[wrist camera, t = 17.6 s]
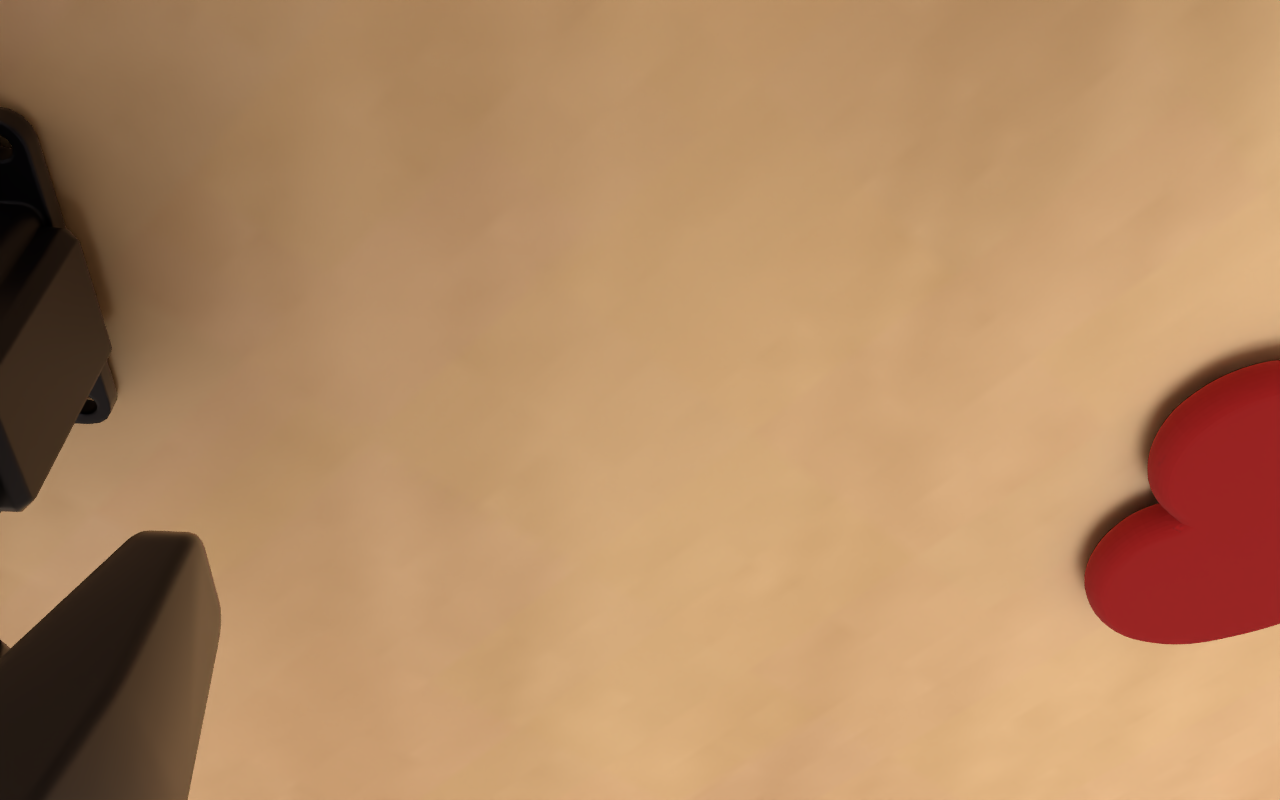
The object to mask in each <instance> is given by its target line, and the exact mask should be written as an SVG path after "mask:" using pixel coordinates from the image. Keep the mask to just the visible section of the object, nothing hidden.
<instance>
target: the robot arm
mask: <svg viewBox="0 0 1280 800" xmlns="http://www.w3.org/2000/svg"><path fill="white" fill-rule="evenodd" d="M0 135H2V136H3V137H4V138H6V139H7V140H8V141H9V143H10V144H11V146H12V147H13V148H11V149H10V148H6V147H2V146H0V512H1V511H11V512H21V511H23V510H24V509H25V508H26V507H27V506H28V505H29V504H30V503H31V502H32V501H33V500H34V499H35V498H36V496H37V494H38V493H39V491H40V489H41V487H42V485H43V483H44V481H45V479H46V477H47V475H48V473H49V471H50V469H51V467H52V465H53V464H54V462H55V460H56V458H57V456H58V454H59V452H60V450H61V448H62V446H63V444H64V442H65V440H66V438H67V437H68V435H69V433H70V431H71V429H72V427H73V425H74V423H80V424H93V423H100V422H102V421H104V420H105V419H107V418H108V416H109V414H110V413H111V411H112V409H113V406H114V404H115V402H116V400H117V391H116V387H115V384H114V381H113V378H112V375H111V371H110V368H109V365H108V362H107V359H108V357H109V355H110V353H111V350H112V347H111V343H110V340H109V336H108V333H107V330H106V326H105V323H104V320H103V317H102V313H101V310H100V307H99V303H98V300H97V297H96V294H95V290H94V287H93V284H92V281H91V277H90V274H89V271H88V267H87V264H86V261H85V258H84V254H83V251H82V248H81V244H80V242H79V240H78V239H77V238H76V237H75V236H74V235H73V234H72V232H71V231H70V230H69V229H67V228H66V227H65V223H64V220H63V217H62V214H61V211H60V207H59V204H58V201H57V198H56V195H55V191H54V188H53V185H52V182H51V179H50V175H49V172H48V169H47V166H46V162H45V159H44V156H43V153H42V150H41V146H40V143H39V140H38V137H37V134H36V133H35V131H34V129H33V127H32V125H31V124H30V123H29V122H28V121H27V120H26V119H25V118H24V117H23V116H22V115H20V114H18V113H16V112H14V111H12V110H10V109H7V108H3V107H0ZM88 397H90V398H92V399H93V400H94V401H92V400H88V399H87V398H88ZM220 628H221V609H220V603H219V599H218V595H217V592H216V588H215V584H214V580H213V577H212V573H211V569H210V566H209V562H208V558H207V554H206V551H205V547H204V545H203V542H202V540H201V539H200V538H199V537H198V536H197V535H196V534H193V533H189V532H170V531H143V532H140V533H138V534H136V535H134V536H132V537H131V538H129V539H128V540H127V541H126V542H125V543H124V544H123V545H122V546H121V547H119V548H118V549H117V550H116V551H115V552H114V553H113V554H112V555H111V556H110V557H109V558H108V559H107V560H105V561H104V562H103V563H102V564H101V565H100V566H99V567H98V568H97V569H96V570H95V571H94V572H93V573H91V574H90V575H89V576H88V577H87V578H86V579H85V580H84V581H83V582H82V583H81V584H80V585H79V586H77V587H76V588H75V589H74V590H73V591H72V592H71V593H70V594H69V595H68V596H67V597H66V598H65V599H63V600H62V601H61V602H60V603H59V604H58V605H57V606H56V607H55V608H54V609H53V610H52V611H51V612H49V613H48V614H47V615H46V616H45V617H44V618H43V619H42V620H41V621H40V622H39V623H38V624H37V625H35V626H34V627H33V628H32V629H31V630H30V631H29V632H28V633H27V634H26V635H25V636H24V637H23V638H21V639H20V640H19V641H18V642H17V643H16V644H15V645H14V646H13V647H12V648H9V647H8V646H7V645H6V644H5V643H4V642H2V641H1V640H0V800H188V795H189V789H190V784H191V779H192V774H193V769H194V764H195V759H196V754H197V749H198V744H199V739H200V734H201V729H202V724H203V718H204V713H205V708H206V703H207V698H208V693H209V688H210V683H211V678H212V673H213V668H214V663H215V658H216V652H217V647H218V642H219V637H220Z"/></svg>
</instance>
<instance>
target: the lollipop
mask: <svg viewBox="0 0 1280 800" xmlns="http://www.w3.org/2000/svg"><path fill="white" fill-rule="evenodd" d="M1148 480H1149V484H1150V488H1151V491H1152V492H1153V494H1154V496H1155V498H1156V499H1157V501H1158V502H1159V503H1157V504H1154V505H1152V506H1149V507H1146V508H1144V509H1142V510H1139V511H1137V512H1135V513H1133V514H1131V515H1130V516H1128V517H1127V518H1125V519H1124V520H1122V521H1121V522H1120V523H1118V524H1117V525H1116V526H1115V527H1113V528H1112V529H1111V530H1110V531H1109V532H1108V533H1107V534H1106V535H1105V536H1104V537H1103V538H1102V539H1101V541H1100V542H1099V543H1098V545H1097V546H1096V548H1095V549H1094V551H1093V553H1092V554H1091V556H1090V559H1089V561H1088V563H1087V567H1086V571H1085V590H1086V595H1087V598H1088V601H1089V603H1090V605H1091V607H1092V609H1093V611H1094V612H1095V614H1096V615H1097V616H1098V617H1099V618H1100V620H1101V621H1102V622H1104V623H1105V624H1106V625H1107V626H1108V627H1110V628H1111V629H1113V630H1114V631H1116V632H1118V633H1120V634H1122V635H1124V636H1126V637H1129V638H1132V639H1136V640H1140V641H1145V642H1152V643H1160V644H1192V643H1200V642H1207V641H1212V640H1218V639H1223V638H1227V637H1232V636H1236V635H1240V634H1245V633H1249V632H1253V631H1256V630H1260V629H1264V628H1267V627H1270V626H1274V625H1277V624H1280V360H1275V361H1268V362H1263V363H1259V364H1255V365H1251V366H1248V367H1245V368H1242V369H1239V370H1236V371H1234V372H1231V373H1229V374H1227V375H1224V376H1222V377H1220V378H1218V379H1216V380H1214V381H1213V382H1211V383H1209V384H1208V385H1206V386H1204V387H1203V388H1201V389H1200V390H1198V391H1197V392H1195V393H1194V394H1192V395H1191V396H1190V397H1188V398H1187V399H1186V400H1185V401H1183V402H1182V403H1181V404H1180V405H1179V406H1178V407H1177V408H1176V409H1175V410H1174V411H1173V412H1172V413H1171V414H1170V415H1169V416H1168V418H1167V419H1166V420H1165V422H1164V423H1163V425H1162V426H1161V428H1160V429H1159V431H1158V433H1157V435H1156V437H1155V438H1154V441H1153V443H1152V446H1151V449H1150V453H1149V457H1148Z"/></svg>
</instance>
